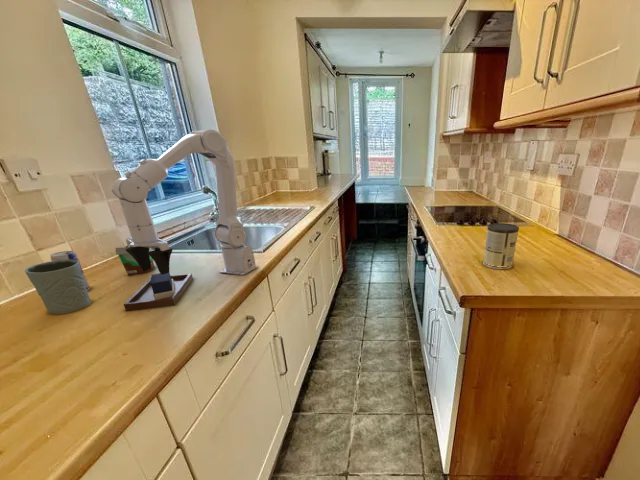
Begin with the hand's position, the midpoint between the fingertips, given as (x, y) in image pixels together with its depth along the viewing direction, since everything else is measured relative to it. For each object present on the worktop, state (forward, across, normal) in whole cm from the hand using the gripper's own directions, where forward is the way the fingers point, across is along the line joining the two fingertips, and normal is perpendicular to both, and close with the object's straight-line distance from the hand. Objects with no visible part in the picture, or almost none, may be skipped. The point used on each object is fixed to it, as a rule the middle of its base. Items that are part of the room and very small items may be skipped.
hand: (156, 271), depth 91 cm
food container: (+7, -24, +11) cm, 27 cm away
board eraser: (+6, +1, 0) cm, 6 cm away
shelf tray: (+7, 0, 0) cm, 7 cm away
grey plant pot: (+7, -15, -15) cm, 23 cm away
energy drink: (+7, -25, -8) cm, 27 cm away
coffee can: (+7, +91, +61) cm, 110 cm away
